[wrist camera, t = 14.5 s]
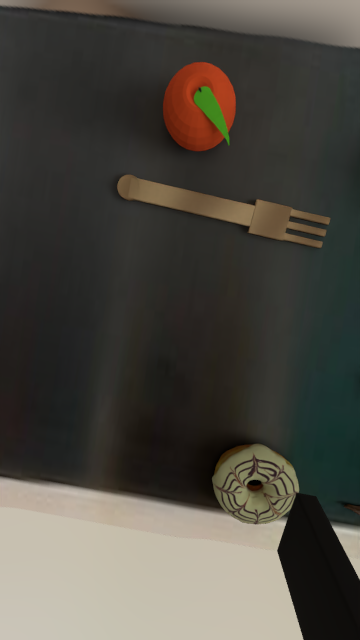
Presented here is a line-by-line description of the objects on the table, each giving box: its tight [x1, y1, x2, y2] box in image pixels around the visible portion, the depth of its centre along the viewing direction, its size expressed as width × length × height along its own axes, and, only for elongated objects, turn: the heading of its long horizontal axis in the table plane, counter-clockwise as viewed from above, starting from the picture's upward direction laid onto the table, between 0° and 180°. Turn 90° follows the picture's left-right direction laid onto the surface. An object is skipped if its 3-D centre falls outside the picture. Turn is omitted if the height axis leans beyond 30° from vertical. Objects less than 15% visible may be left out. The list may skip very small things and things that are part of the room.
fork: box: [117, 175, 330, 248], centre depth 33 cm, size 24×4×1 cm, turn 77°
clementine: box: [163, 62, 235, 151], centre depth 29 cm, size 8×7×7 cm
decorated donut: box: [212, 444, 299, 524], centre depth 39 cm, size 10×11×4 cm
